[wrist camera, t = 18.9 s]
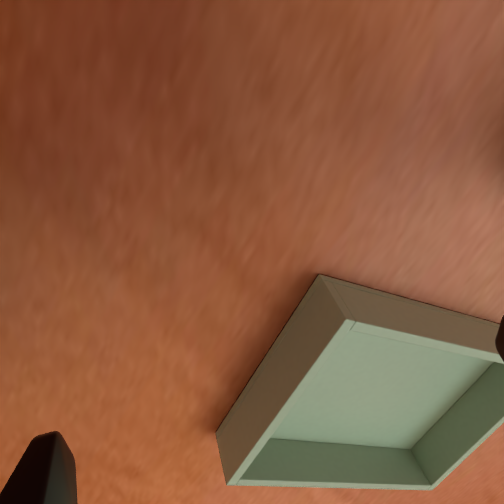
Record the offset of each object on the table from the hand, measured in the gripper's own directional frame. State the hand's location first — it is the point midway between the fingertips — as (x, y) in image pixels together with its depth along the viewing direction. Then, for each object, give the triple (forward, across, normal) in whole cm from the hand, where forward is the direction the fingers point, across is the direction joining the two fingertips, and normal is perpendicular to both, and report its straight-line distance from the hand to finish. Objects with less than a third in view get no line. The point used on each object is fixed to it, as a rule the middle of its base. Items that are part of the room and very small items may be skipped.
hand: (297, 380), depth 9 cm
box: (+12, -9, +18) cm, 24 cm away
